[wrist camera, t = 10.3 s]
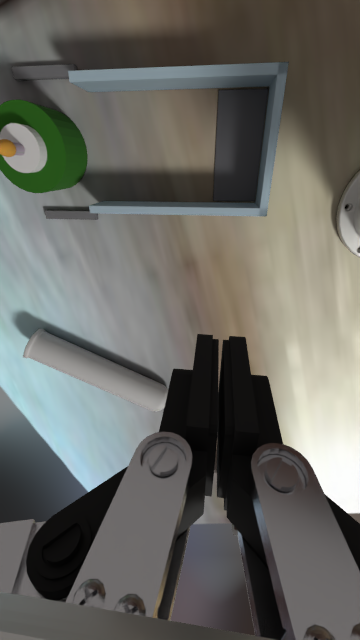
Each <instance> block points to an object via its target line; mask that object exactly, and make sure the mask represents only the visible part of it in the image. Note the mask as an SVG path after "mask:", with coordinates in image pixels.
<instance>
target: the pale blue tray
mask: <svg viewBox="0 0 360 640" xmlns="http://www.w3.org/2000/svg"><path fill="white" fill-rule="evenodd" d="M288 63H289V62H274V63H249V64H225V65H201V66H176V67H152V68H127V69H103V70H79V71H68V74H69V80H70V82H71V83H73V84H75V85H76V86H78V87H80V88H82V89H84V90H86V91H88V92H109V91H140V90H171V89H203V88H234V87H265V86H270V87H269V95H268V89H242V90H219V98H218V117H217V136H216V156H215V175H214V194H213V201H255V195H256V201H255V203H221V202H141V201H102V202H99V203H96V204H93V205H90V206H89V209H90V213H105V214H163V215H220V216H267V209H268V202H269V195H270V188H271V181H272V174H273V167H274V161H275V154H276V147H277V140H278V133H279V126H280V119H281V112H282V105H283V98H284V91H285V84H286V77H287V70H288ZM267 96H268V103H267ZM266 104H267V111H266ZM265 113H266V120H265ZM264 121H265V128H264ZM263 129H264V136H263ZM262 137H263V144H262ZM261 146H262V152H261ZM260 154H261V160H260ZM259 162H260V169H259ZM258 170H259V177H258ZM257 179H258V185H257ZM256 187H257V193H256Z"/></svg>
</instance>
